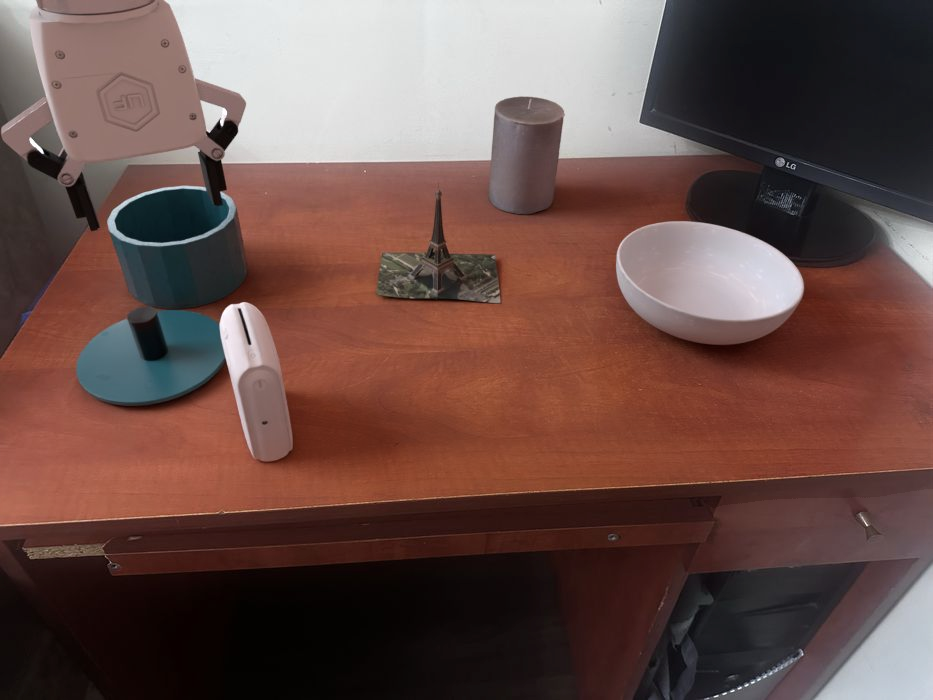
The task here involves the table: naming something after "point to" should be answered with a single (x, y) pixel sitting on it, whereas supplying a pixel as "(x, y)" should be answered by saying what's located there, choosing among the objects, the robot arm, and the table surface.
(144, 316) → the lid
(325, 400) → the table surface
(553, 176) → the pillar candle
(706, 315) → the serving bowl
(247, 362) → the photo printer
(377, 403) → the table surface
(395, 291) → the eiffel tower figurine
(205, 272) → the pot
